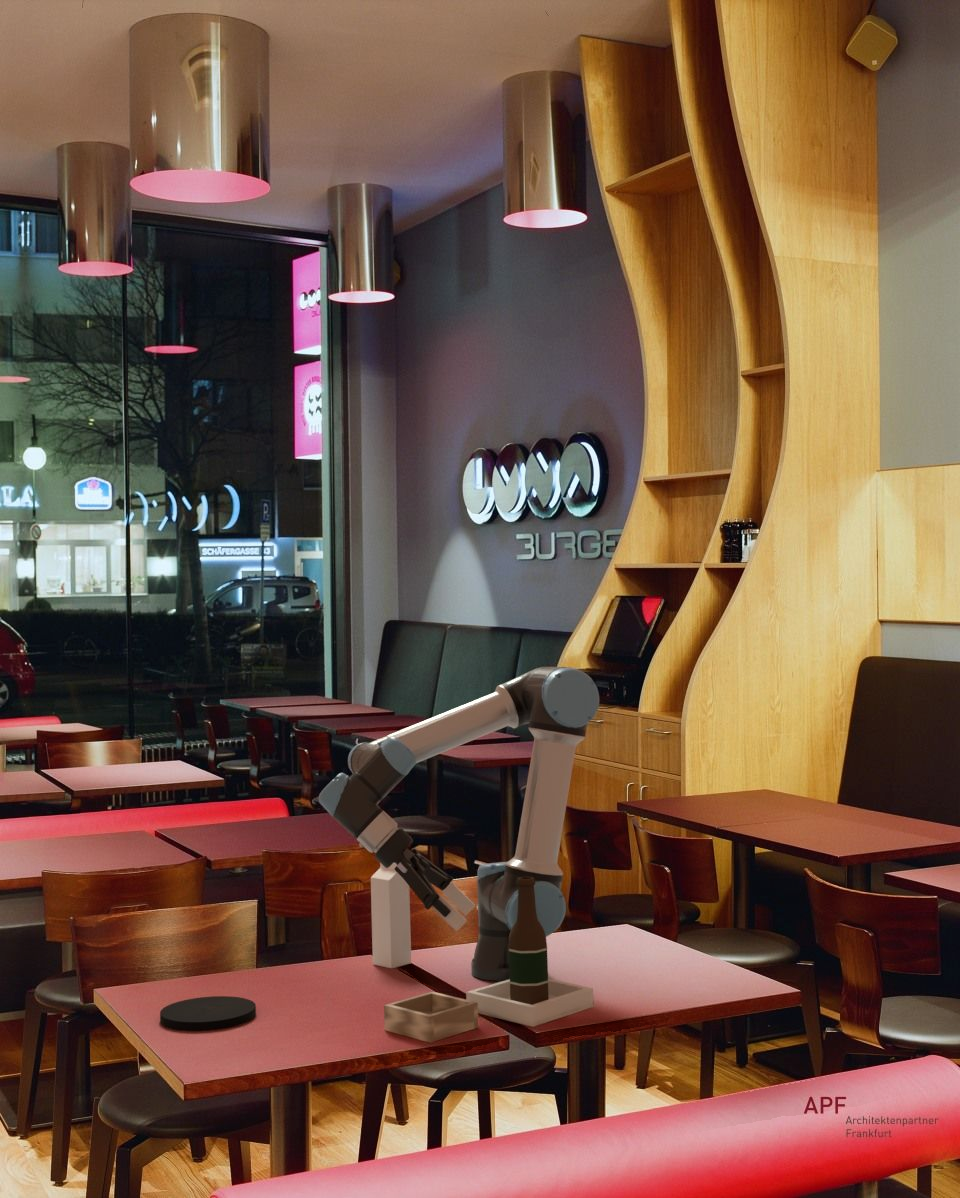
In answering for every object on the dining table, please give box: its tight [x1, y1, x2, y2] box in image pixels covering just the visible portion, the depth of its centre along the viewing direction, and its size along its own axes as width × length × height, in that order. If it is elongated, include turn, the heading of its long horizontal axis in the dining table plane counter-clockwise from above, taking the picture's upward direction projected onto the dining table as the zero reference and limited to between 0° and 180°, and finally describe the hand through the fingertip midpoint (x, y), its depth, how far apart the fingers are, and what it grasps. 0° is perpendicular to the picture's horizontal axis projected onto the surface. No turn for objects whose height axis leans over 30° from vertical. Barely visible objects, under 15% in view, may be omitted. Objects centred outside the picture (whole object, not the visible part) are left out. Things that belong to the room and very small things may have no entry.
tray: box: [465, 978, 594, 1028], centre depth 266 cm, size 17×17×4 cm
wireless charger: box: [159, 995, 257, 1032], centre depth 266 cm, size 18×18×2 cm
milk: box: [370, 862, 412, 969], centre depth 304 cm, size 6×6×22 cm
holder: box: [383, 991, 479, 1043], centre depth 255 cm, size 12×12×4 cm
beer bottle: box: [509, 877, 549, 1005], centre depth 266 cm, size 8×8×24 cm
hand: (466, 918), depth 268 cm, fingers open, 13 cm apart
